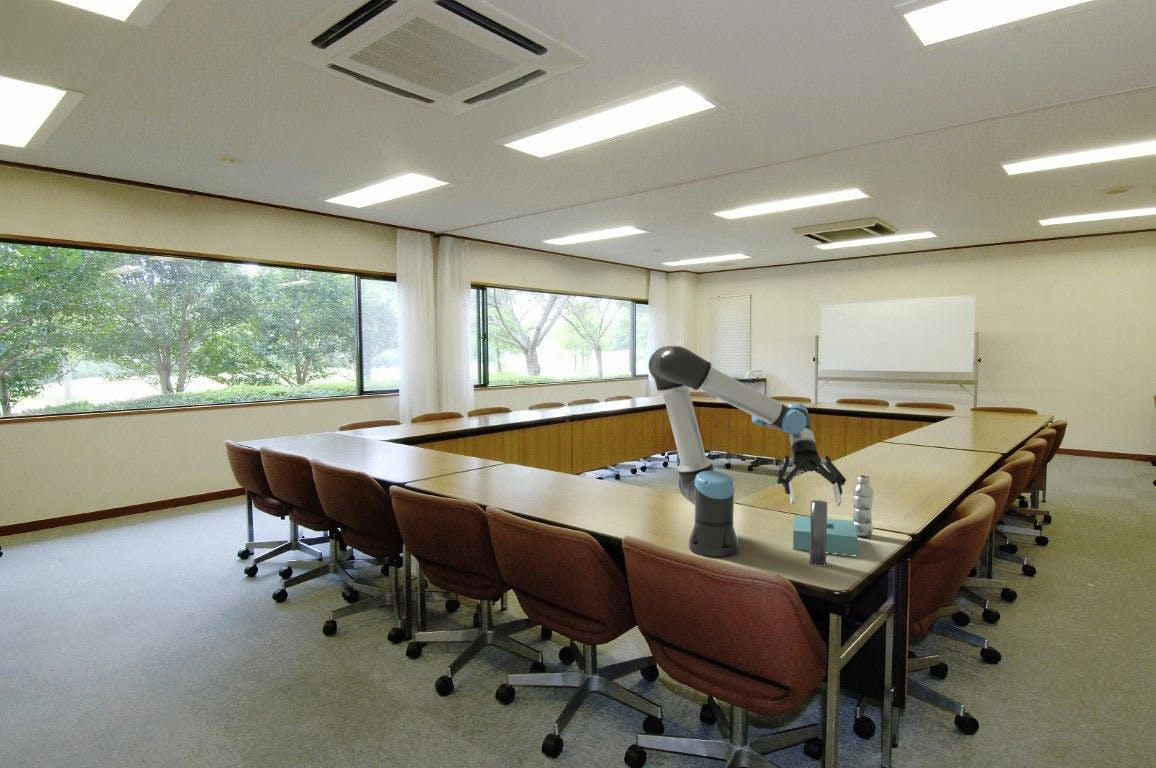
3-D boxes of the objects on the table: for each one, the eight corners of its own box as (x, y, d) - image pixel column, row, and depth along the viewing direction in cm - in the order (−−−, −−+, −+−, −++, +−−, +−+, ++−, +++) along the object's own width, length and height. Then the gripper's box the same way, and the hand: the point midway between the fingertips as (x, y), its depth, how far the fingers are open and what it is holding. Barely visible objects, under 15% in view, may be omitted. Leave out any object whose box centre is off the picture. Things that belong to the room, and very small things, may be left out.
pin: (809, 564, 165) (810, 503, 164) (809, 559, 170) (810, 499, 169) (826, 567, 164) (827, 504, 163) (825, 561, 168) (827, 501, 167)
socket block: (793, 549, 179) (793, 530, 178) (794, 532, 195) (794, 515, 195) (857, 556, 172) (857, 537, 171) (852, 538, 188) (853, 520, 188)
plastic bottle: (848, 535, 192) (849, 476, 191) (855, 531, 197) (857, 473, 196) (868, 540, 187) (870, 479, 186) (875, 535, 192) (877, 476, 191)
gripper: (840, 452, 189) (855, 510, 175) (762, 451, 192) (771, 508, 178) (846, 439, 183) (862, 498, 169) (766, 438, 186) (775, 496, 172)
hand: (816, 503), depth 174 cm, fingers open, 13 cm apart
